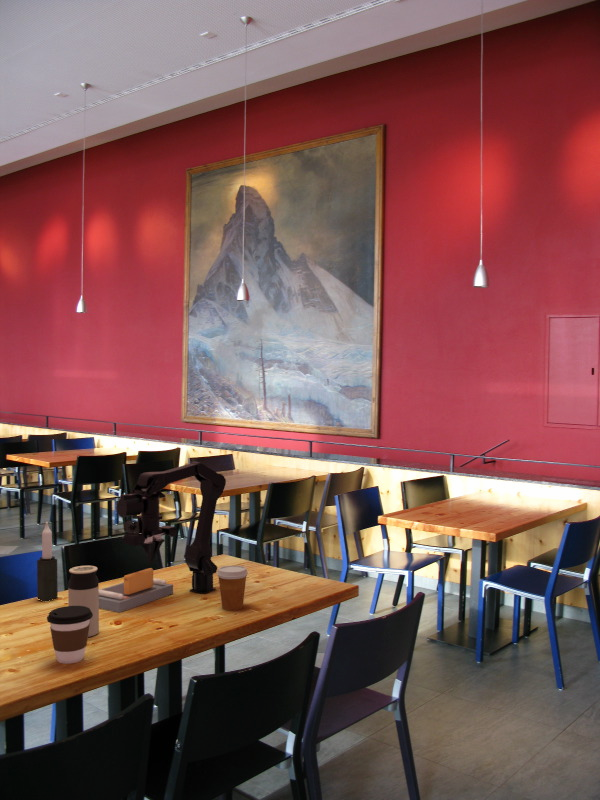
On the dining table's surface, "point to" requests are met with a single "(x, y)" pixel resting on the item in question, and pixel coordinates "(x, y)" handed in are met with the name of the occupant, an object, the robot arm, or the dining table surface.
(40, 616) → the dining table surface
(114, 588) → the grey flat rectangular tray
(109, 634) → the dining table surface
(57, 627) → the coffee cup
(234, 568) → the disposable coffee cup
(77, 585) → the travel mug
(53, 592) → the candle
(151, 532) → the robot arm
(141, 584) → the orange rectangular slab
